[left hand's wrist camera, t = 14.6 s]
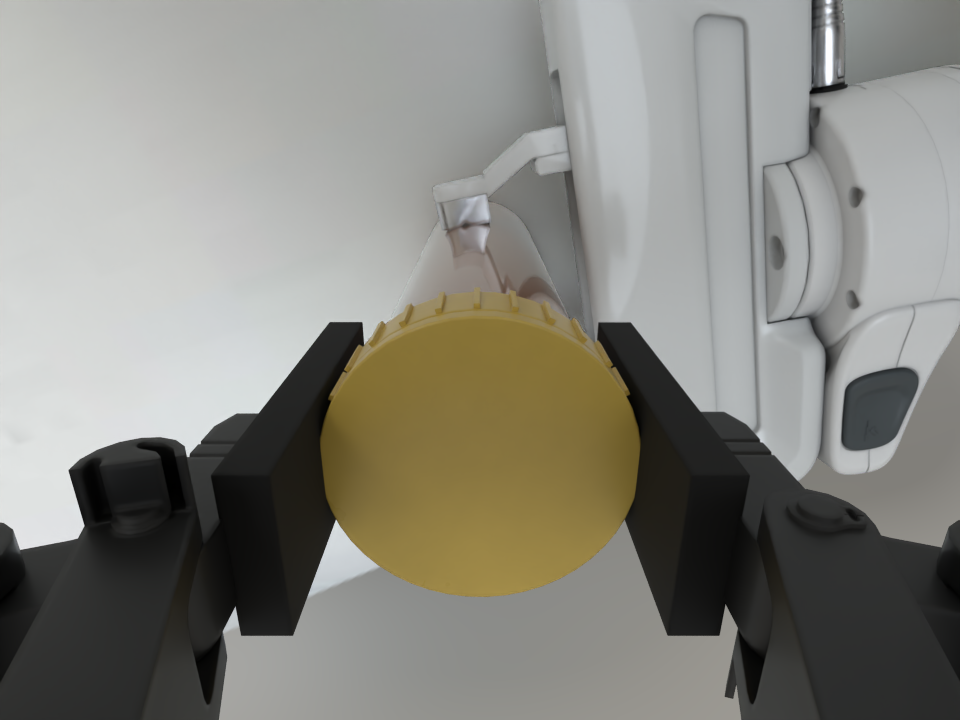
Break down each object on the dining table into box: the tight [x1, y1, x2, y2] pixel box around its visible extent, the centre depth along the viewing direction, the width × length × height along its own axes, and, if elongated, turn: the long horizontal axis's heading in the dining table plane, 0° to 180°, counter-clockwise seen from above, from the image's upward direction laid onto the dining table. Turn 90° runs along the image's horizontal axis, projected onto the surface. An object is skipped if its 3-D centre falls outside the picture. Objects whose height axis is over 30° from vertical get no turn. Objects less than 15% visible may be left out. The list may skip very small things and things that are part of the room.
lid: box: [320, 287, 641, 597], centre depth 11 cm, size 6×6×2 cm
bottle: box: [389, 201, 570, 321], centre depth 19 cm, size 5×5×18 cm
